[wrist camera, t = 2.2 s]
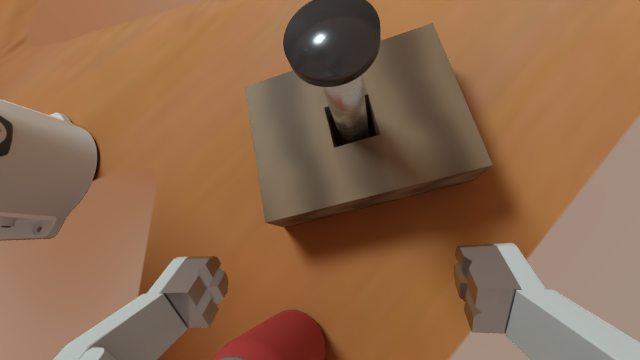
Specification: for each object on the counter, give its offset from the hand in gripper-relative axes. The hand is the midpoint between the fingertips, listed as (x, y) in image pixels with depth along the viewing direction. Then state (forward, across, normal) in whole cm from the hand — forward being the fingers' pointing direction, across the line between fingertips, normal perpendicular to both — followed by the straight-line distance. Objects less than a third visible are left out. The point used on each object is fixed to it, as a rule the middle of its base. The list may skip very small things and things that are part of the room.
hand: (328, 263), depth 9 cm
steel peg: (+22, 0, +5) cm, 23 cm away
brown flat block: (+22, 0, +5) cm, 23 cm away
